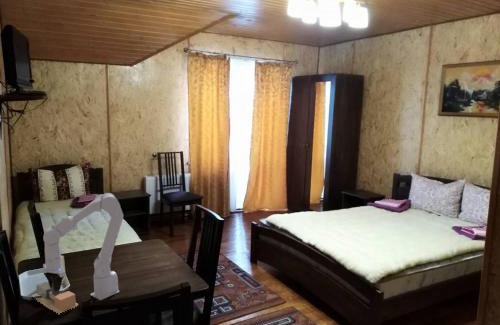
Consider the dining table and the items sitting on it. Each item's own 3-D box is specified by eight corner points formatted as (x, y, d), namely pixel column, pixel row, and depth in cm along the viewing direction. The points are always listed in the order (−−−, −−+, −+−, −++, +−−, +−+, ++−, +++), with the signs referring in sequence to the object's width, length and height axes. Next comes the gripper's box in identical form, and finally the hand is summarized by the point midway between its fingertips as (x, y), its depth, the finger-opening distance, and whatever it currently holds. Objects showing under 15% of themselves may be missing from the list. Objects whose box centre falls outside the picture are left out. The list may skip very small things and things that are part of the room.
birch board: (50, 290, 168) (50, 288, 168) (78, 306, 154) (78, 304, 154) (31, 297, 162) (31, 295, 161) (58, 314, 148) (58, 312, 148)
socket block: (69, 301, 156) (68, 290, 156) (75, 305, 153) (75, 294, 153) (54, 307, 152) (54, 296, 151) (61, 311, 149) (60, 300, 148)
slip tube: (47, 290, 164) (46, 275, 163) (65, 301, 155) (64, 284, 154) (41, 293, 162) (40, 277, 161) (59, 303, 153) (58, 286, 152)
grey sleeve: (47, 290, 166) (46, 281, 165) (56, 296, 161) (55, 286, 160) (37, 294, 162) (36, 285, 162) (46, 299, 158) (45, 290, 157)
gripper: (34, 256, 156) (37, 287, 157) (52, 264, 147) (54, 297, 149) (52, 251, 161) (54, 281, 163) (69, 259, 153) (71, 291, 154)
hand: (55, 288), depth 156 cm, fingers closed on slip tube, 2 cm apart
